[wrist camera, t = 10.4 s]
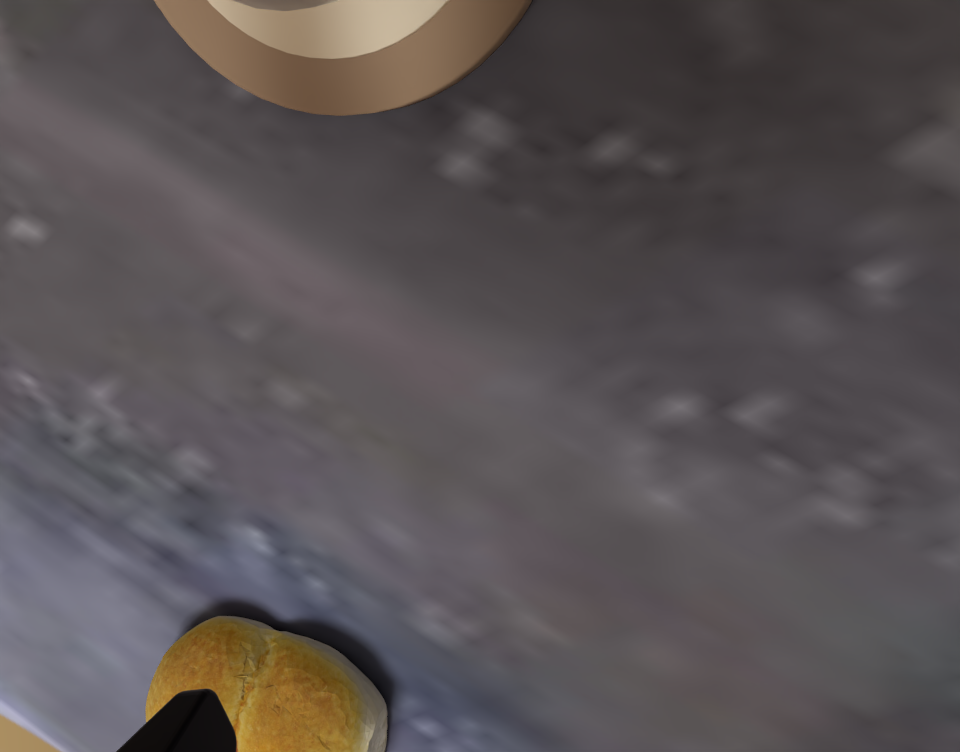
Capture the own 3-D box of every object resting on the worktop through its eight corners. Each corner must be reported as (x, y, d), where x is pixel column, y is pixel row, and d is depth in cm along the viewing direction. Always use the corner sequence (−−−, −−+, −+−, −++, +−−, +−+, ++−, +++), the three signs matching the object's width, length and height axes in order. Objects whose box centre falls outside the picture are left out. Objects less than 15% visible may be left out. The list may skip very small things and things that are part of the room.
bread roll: (174, 584, 28) (100, 659, 24) (400, 647, 27) (357, 737, 23) (180, 743, 31) (116, 829, 28) (382, 807, 30) (342, 907, 26)
